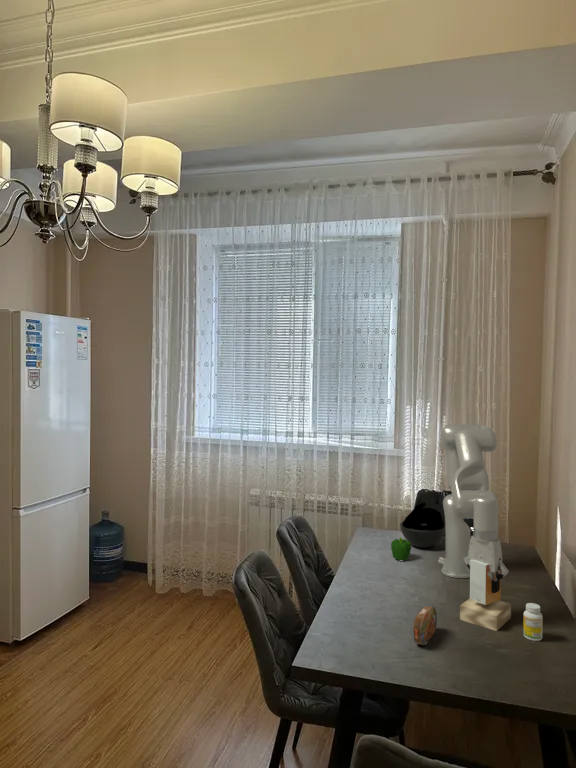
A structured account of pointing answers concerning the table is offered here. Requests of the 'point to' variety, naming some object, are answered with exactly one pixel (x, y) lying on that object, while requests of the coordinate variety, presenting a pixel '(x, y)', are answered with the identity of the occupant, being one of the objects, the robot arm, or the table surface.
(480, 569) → the small box
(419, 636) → the tin
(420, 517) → the coal bowl
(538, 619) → the supplement bottle
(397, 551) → the bell pepper
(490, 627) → the birch block
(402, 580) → the table surface
